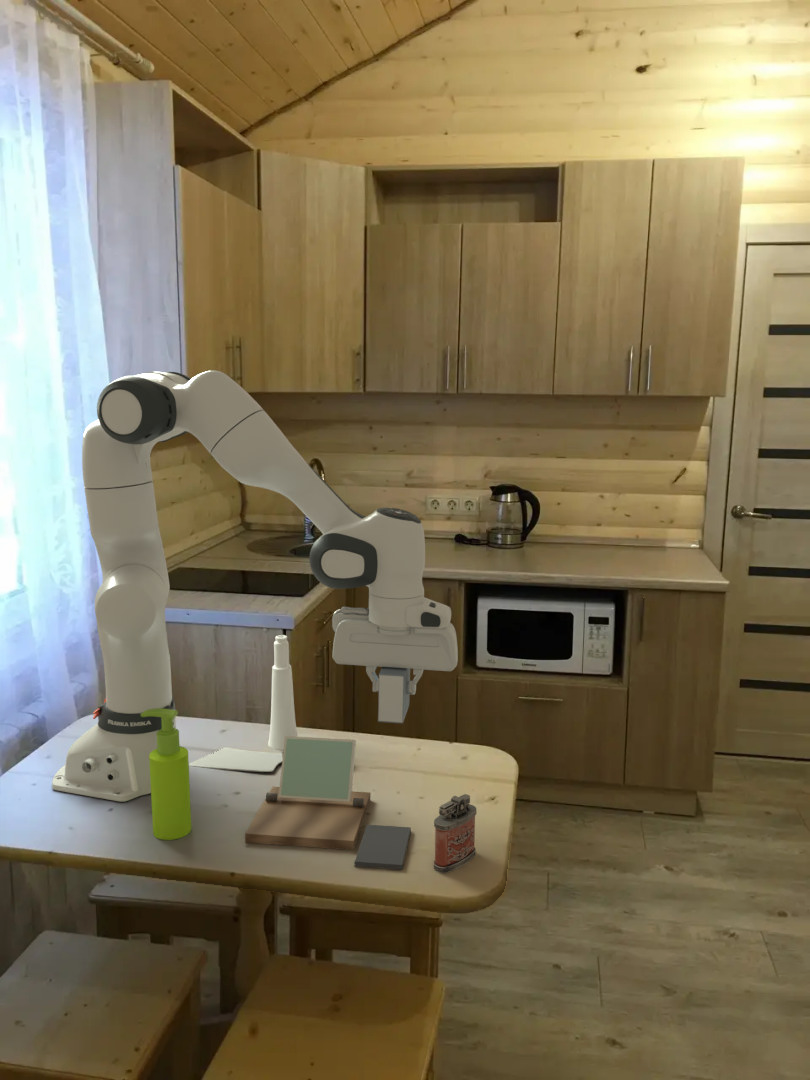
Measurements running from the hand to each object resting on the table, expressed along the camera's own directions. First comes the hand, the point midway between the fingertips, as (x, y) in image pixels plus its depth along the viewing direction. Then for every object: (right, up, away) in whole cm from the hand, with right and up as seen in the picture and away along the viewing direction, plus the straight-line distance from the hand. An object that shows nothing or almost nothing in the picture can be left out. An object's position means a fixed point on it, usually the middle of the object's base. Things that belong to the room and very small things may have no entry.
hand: (394, 692), depth 146 cm
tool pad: (-1, -22, -9) cm, 24 cm away
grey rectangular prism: (0, -4, +1) cm, 4 cm away
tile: (-13, -14, +4) cm, 19 cm away
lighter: (+9, -23, -12) cm, 28 cm away
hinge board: (-14, -21, -1) cm, 25 cm away
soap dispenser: (-36, -21, -4) cm, 42 cm away
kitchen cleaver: (-25, -17, +15) cm, 34 cm away
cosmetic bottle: (-22, -15, +28) cm, 39 cm away
